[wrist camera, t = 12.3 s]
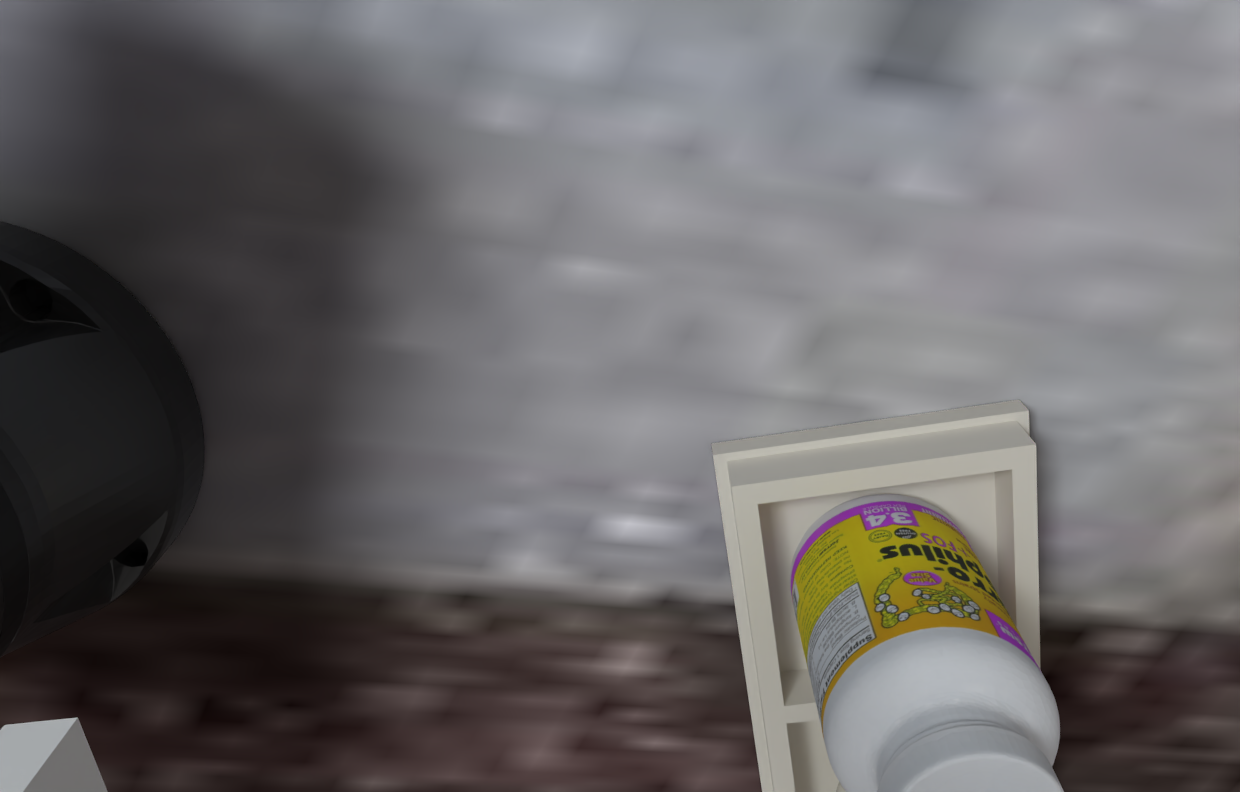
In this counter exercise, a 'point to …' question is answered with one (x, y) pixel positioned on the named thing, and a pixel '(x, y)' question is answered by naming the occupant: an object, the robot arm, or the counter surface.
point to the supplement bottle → (917, 657)
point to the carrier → (838, 472)
